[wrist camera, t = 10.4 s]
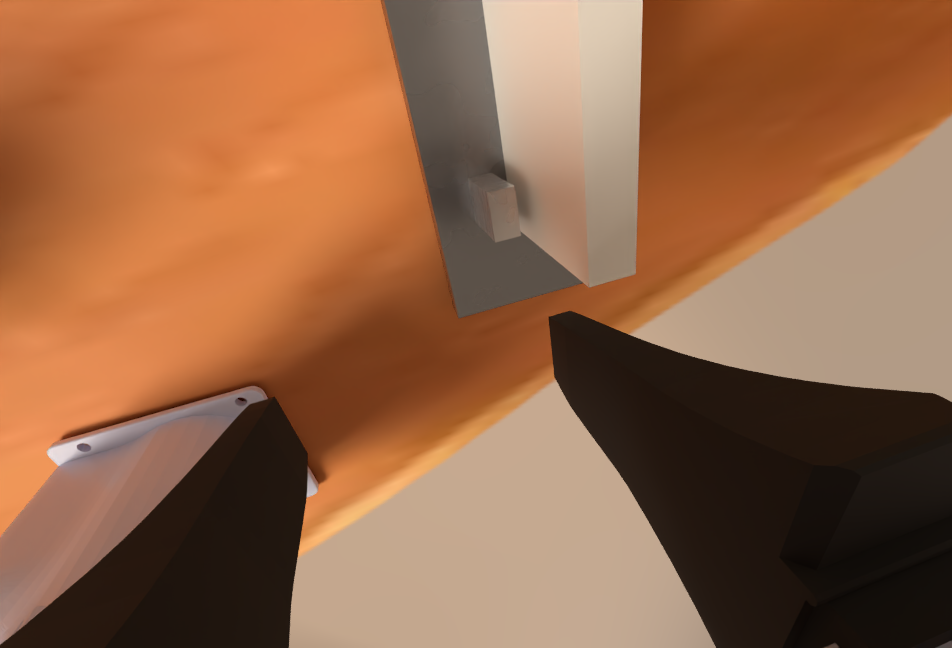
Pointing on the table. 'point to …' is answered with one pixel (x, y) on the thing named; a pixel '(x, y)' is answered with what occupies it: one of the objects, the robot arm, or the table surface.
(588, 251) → the cabinet door
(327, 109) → the table surface
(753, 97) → the table surface
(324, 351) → the table surface
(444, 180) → the rail
